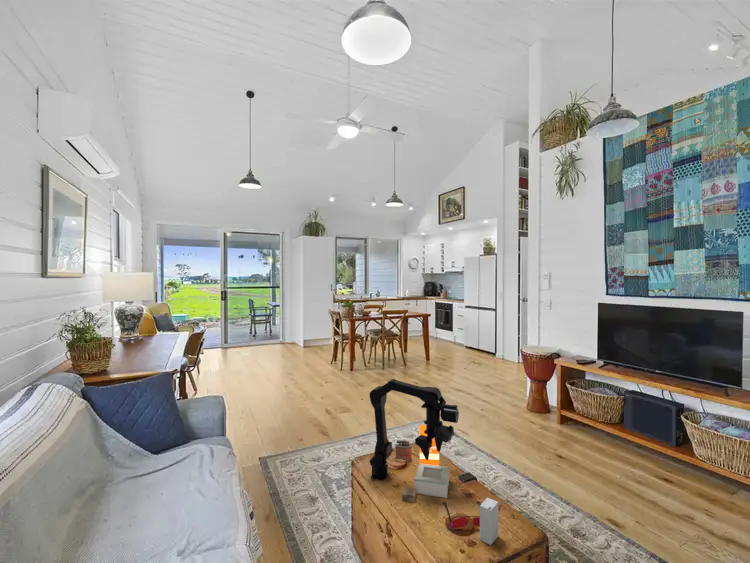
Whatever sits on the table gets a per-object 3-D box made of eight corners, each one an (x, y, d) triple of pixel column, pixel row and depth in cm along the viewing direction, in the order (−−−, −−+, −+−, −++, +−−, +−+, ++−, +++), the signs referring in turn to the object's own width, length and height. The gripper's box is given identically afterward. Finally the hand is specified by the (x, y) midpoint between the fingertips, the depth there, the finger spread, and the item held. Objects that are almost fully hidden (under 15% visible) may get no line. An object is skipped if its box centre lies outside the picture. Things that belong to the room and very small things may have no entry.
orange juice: (420, 463, 176) (419, 421, 176) (438, 464, 175) (438, 422, 174) (419, 471, 168) (419, 428, 168) (439, 473, 167) (438, 429, 167)
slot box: (414, 493, 152) (414, 478, 151) (419, 476, 164) (419, 463, 164) (447, 497, 148) (446, 483, 148) (449, 480, 161) (449, 466, 161)
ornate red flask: (412, 459, 180) (411, 438, 180) (412, 462, 177) (411, 441, 176) (395, 458, 181) (395, 438, 181) (395, 462, 177) (394, 441, 177)
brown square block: (402, 501, 147) (402, 494, 147) (404, 494, 152) (404, 487, 152) (414, 503, 145) (414, 495, 145) (416, 496, 150) (416, 488, 150)
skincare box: (486, 530, 129) (486, 496, 129) (499, 536, 126) (499, 501, 126) (479, 540, 124) (478, 504, 124) (491, 546, 121) (491, 510, 121)
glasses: (451, 532, 129) (451, 518, 129) (442, 503, 145) (442, 490, 145) (491, 531, 129) (491, 517, 129) (477, 502, 145) (477, 490, 145)
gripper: (438, 431, 142) (438, 471, 143) (461, 417, 157) (460, 453, 157) (414, 423, 150) (414, 461, 150) (438, 410, 164) (438, 445, 164)
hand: (432, 455), depth 155 cm, fingers open, 9 cm apart
